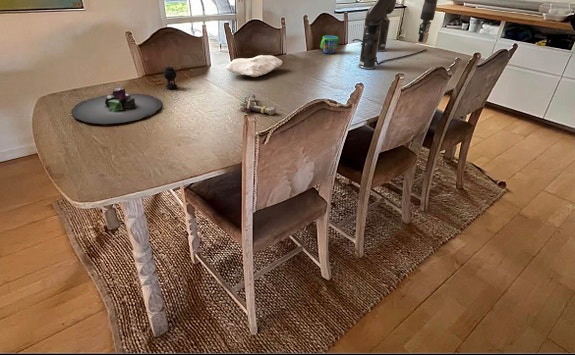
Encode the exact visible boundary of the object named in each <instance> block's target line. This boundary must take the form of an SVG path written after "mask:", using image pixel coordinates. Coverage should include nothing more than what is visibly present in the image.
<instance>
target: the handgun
mask: <svg viewBox="0 0 575 355" xmlns="http://www.w3.org/2000/svg"><path fill="white" fill-rule="evenodd" d="M239 106H240V108H239V109H240V111H243V112H244V113H250V112H256V113H261V114H264V113H266V114H268V115H270V116H272V115H275V113H276V111H277V108H276V107H275V106H271V107H268V106H267V105H257V102H256V94H253V93H246V94H245V95H244V103H240V105H239Z"/></svg>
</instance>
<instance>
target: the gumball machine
mask: <svg viewBox="0 0 575 355" xmlns="http://www.w3.org/2000/svg"><path fill="white" fill-rule="evenodd" d="M176 69H177V67H176V66H174V67H173V66H166V67H165V68H164V67H162V68H161V70H162V71H163V76H162V78H165V79H166V80H167V81H166V84H165V86H164V87H165V88H167V89H168V90H174V89H176V88H177V89H179V85H178V84H176V83H177V82H178V78H177V71H176Z"/></svg>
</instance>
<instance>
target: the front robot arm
mask: <svg viewBox="0 0 575 355" xmlns="http://www.w3.org/2000/svg"><path fill="white" fill-rule="evenodd" d="M392 1H393V0H376V1H375V2H374V4H373V5H372V6H371V7H369V8H368V9H367V11H366V12H365V18H364V26H363V34H362V42H361V43H362V45H361V49H360V55H359V61H358V68H359V69H363V70H374V69H375V67H376V64H377V65H380V64H382V63H384V62H389V61H393V60H397V59H402V58H406V57H410V56H413V55H416V54H419V53H422V52H425V51H427V50H428V49H427V48H425V49H422V50H420V51H417V52H413V53H410V54H406V55H401V56H398V57H393V58H387V59H383V60H381V61H380V62H378V57H377V53H378V51H377V49H378V42H379V36H380V28H381V22H382V19H383V17H384V15H385V13H386V11H387V9H388V7H389V6H390V4H391V2H392ZM437 5H438V0H424V2H423V5H422V9H421V14H420V17H419V18H420V20H422V22H421V23H420V24H419V28H418V33H419V40H418V41H419V42H418V43H420V42H422V40H423V35H424V33H429V31H430V28H431V24H432V22H431V21H434V18H435V14H436V10H437Z"/></svg>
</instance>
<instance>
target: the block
mask: <svg viewBox="0 0 575 355" xmlns="http://www.w3.org/2000/svg"><path fill="white" fill-rule="evenodd" d="M429 35H430V33H429V32H427V33H424V35H423V40H422V42H419V41H418V40H419V32H417V35H416V38H415V39H416V40H415V42H416V43H420V44H421V43H422V44H426V43H427V42H428V40H429Z"/></svg>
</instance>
